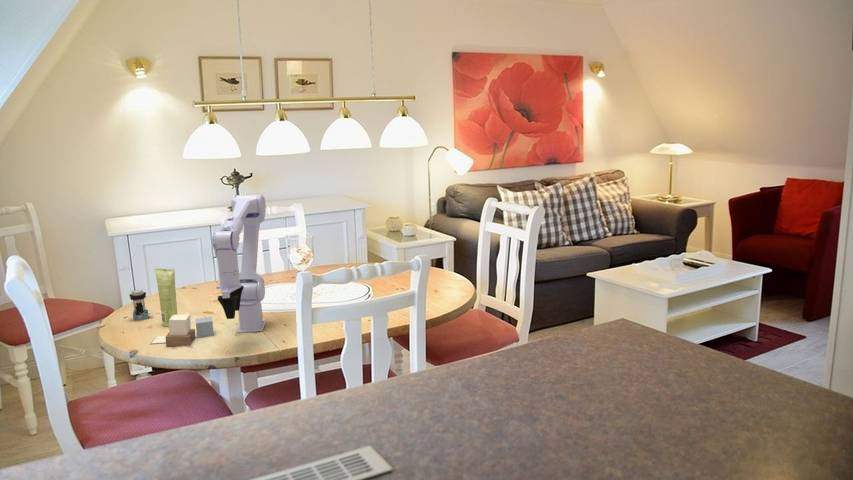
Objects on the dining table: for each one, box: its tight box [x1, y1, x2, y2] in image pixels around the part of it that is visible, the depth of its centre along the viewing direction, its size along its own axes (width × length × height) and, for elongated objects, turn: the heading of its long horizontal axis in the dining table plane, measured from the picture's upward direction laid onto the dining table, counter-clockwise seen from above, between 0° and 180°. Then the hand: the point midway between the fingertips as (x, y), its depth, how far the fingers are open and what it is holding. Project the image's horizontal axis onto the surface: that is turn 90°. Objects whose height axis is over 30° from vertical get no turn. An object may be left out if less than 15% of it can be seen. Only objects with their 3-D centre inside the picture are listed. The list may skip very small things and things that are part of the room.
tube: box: [154, 267, 179, 328], centre depth 222 cm, size 6×5×20 cm
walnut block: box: [165, 328, 196, 347], centre depth 206 cm, size 7×7×3 cm
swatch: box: [149, 335, 167, 346], centre depth 209 cm, size 7×7×1 cm
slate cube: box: [195, 316, 215, 339], centre depth 212 cm, size 5×5×5 cm
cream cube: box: [168, 314, 192, 336], centre depth 205 cm, size 5×5×5 cm
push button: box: [128, 289, 154, 321], centre depth 230 cm, size 7×5×10 cm
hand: (233, 314), depth 200 cm, fingers open, 7 cm apart
